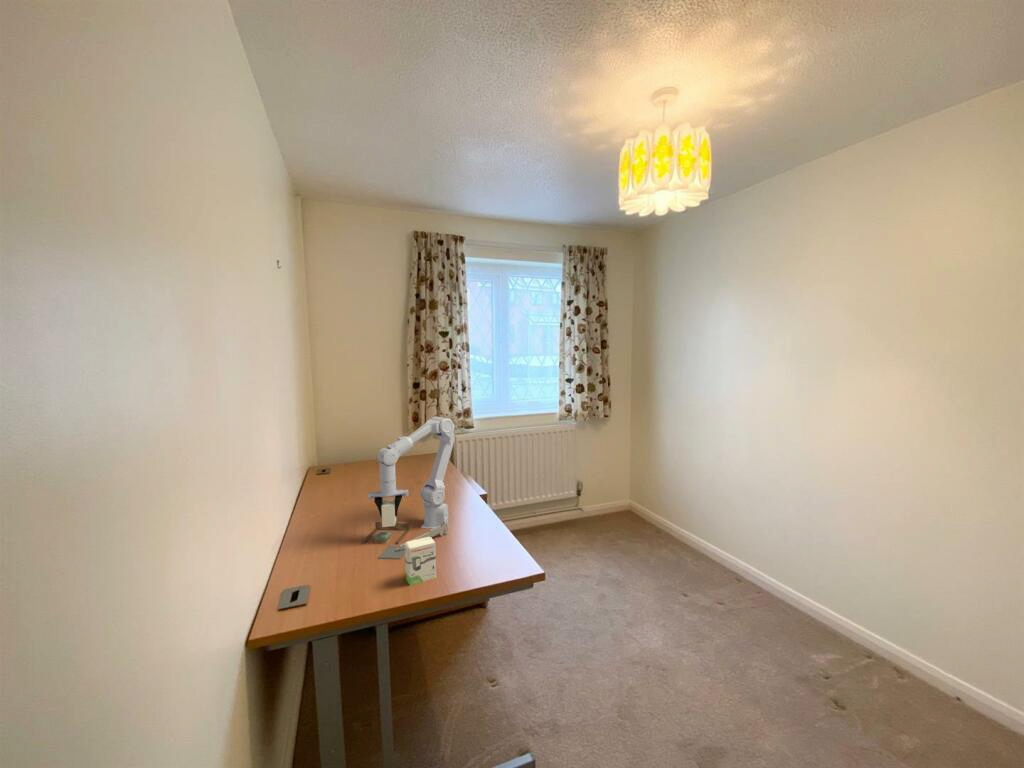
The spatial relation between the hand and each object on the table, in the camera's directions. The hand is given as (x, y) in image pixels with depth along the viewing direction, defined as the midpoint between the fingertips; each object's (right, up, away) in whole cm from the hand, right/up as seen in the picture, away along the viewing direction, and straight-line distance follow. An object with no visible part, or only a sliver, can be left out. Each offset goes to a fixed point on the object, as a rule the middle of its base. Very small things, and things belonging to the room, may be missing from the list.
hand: (389, 515), depth 152 cm
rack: (-2, -10, +4) cm, 11 cm away
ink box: (+18, -11, -26) cm, 33 cm away
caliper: (+13, -11, -3) cm, 17 cm away
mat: (+5, -10, -9) cm, 15 cm away
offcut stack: (-2, -10, -1) cm, 10 cm away
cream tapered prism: (0, -3, 0) cm, 3 cm away
